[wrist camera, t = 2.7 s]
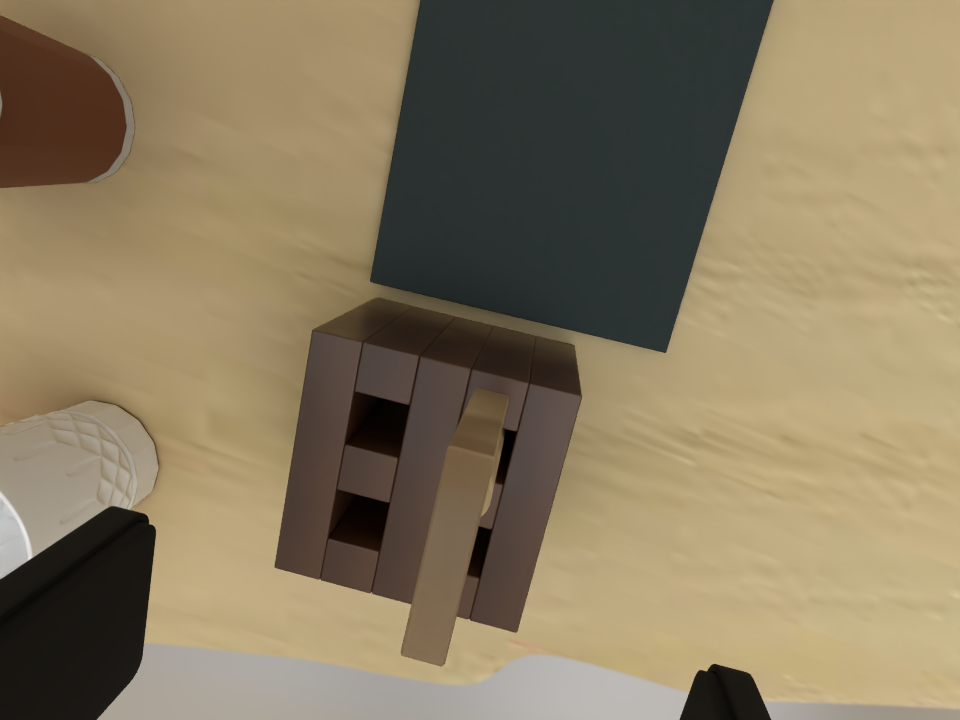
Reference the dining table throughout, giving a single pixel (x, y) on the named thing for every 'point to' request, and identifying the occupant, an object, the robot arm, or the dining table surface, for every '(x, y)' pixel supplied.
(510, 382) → the utensil block
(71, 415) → the white cup
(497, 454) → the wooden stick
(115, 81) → the coffee cup
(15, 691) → the robot arm
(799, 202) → the dining table surface
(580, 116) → the mat
